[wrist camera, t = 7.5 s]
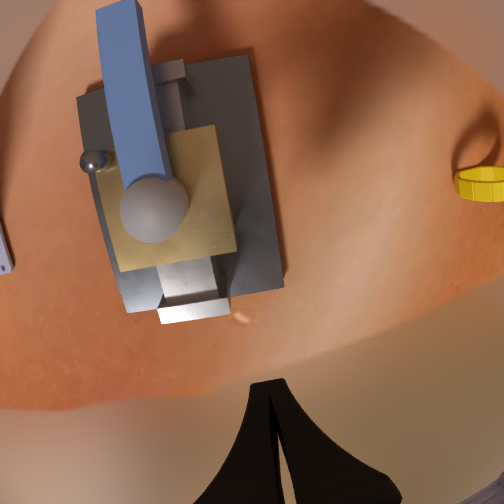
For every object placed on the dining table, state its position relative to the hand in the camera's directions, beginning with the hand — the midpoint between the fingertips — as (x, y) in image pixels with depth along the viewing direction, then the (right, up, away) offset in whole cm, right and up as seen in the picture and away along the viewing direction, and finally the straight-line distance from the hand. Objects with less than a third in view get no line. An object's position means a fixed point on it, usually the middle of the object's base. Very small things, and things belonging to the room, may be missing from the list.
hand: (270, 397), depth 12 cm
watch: (+17, +12, +9) cm, 22 cm away
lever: (-6, +12, 0) cm, 13 cm away
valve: (-5, +10, +7) cm, 13 cm away
